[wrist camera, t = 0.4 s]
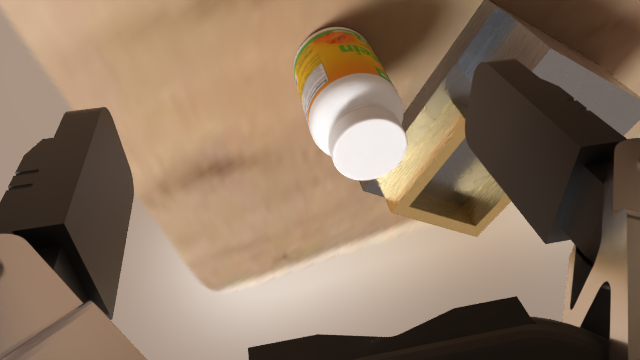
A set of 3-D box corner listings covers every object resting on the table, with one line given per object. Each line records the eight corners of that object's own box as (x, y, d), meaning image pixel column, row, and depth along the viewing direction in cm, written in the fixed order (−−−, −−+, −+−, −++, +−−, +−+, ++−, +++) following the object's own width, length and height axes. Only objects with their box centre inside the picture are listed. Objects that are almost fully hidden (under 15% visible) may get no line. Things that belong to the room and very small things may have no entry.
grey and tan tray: (485, -2, 31) (538, 41, 26) (599, 65, 36) (661, 111, 31) (358, 178, 39) (380, 237, 34) (466, 212, 44) (499, 267, 39)
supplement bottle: (387, 45, 32) (442, 128, 24) (344, 109, 34) (383, 201, 27) (317, 10, 29) (355, 90, 22) (278, 82, 32) (300, 174, 25)
